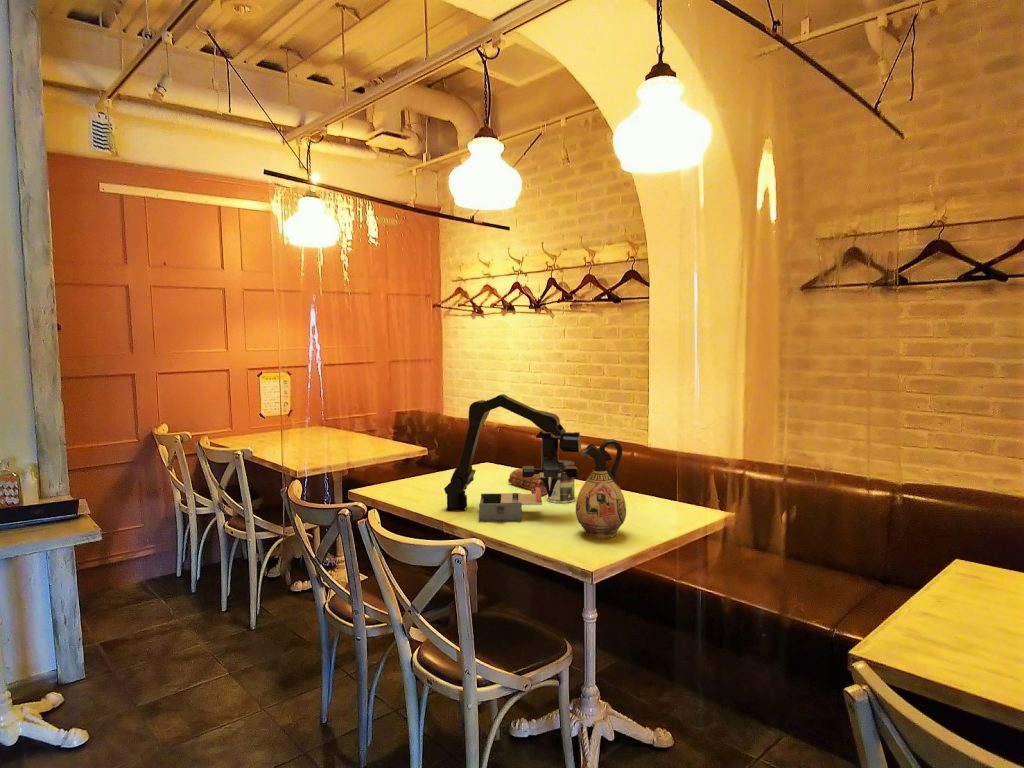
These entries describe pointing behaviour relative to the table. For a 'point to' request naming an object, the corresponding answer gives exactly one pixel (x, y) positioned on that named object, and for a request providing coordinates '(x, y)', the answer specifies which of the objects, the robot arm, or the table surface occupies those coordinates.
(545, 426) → the robot arm
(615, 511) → the ceramic jug
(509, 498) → the lid
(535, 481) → the cured meat
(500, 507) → the grey box
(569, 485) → the coffee can
